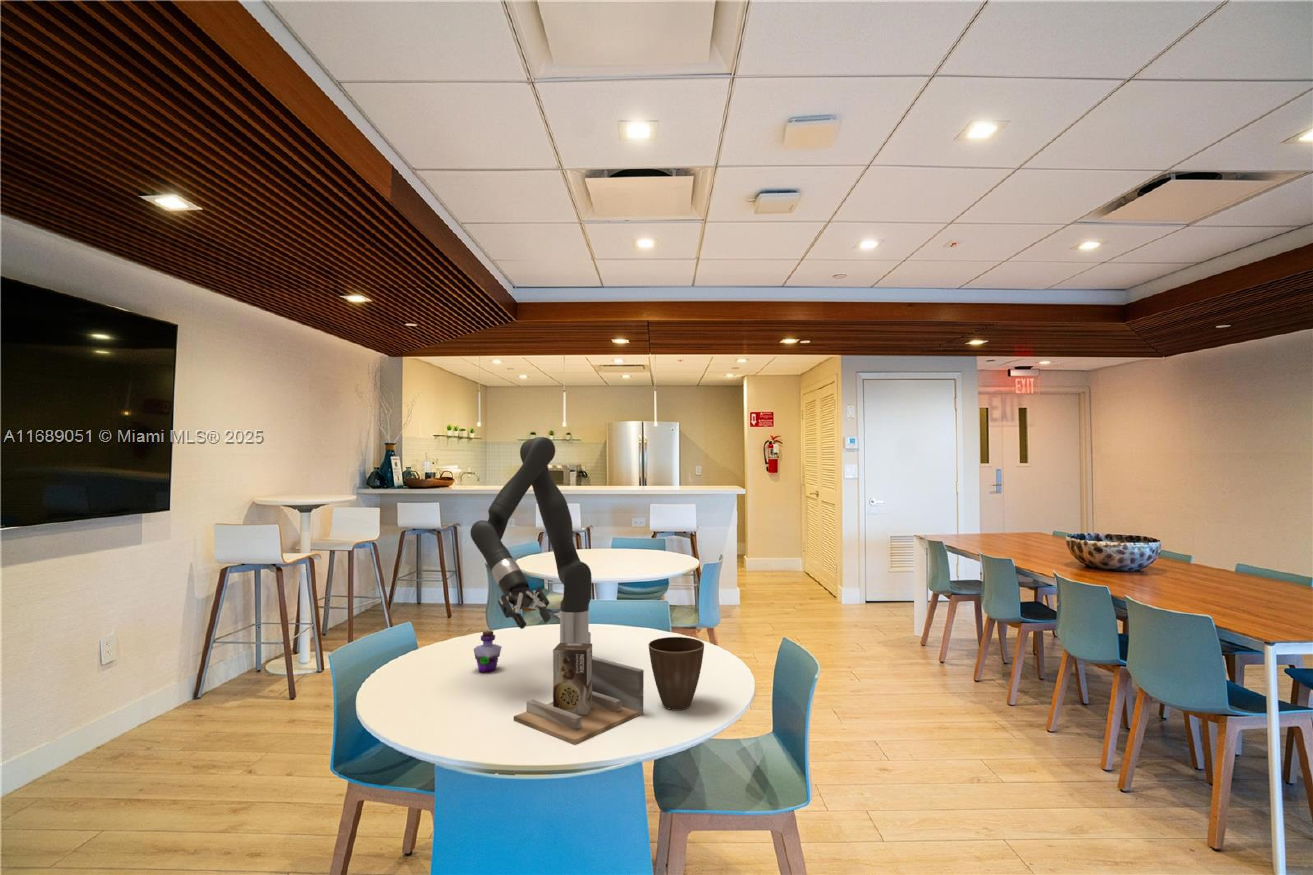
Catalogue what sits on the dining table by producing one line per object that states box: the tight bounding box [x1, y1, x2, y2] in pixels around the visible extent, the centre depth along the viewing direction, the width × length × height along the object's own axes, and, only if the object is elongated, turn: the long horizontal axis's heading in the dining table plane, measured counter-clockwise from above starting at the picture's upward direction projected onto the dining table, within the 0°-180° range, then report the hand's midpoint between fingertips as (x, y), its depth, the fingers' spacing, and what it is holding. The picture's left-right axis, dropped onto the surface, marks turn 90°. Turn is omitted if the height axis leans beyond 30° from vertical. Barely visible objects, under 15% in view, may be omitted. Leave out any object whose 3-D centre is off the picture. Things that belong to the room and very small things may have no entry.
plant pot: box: [648, 636, 705, 710], centre depth 164 cm, size 15×15×16 cm
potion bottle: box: [473, 630, 502, 674], centre depth 193 cm, size 9×9×12 cm
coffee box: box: [552, 642, 593, 715], centre depth 157 cm, size 9×6×16 cm
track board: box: [513, 655, 644, 745], centre depth 155 cm, size 24×22×11 cm
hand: (536, 623), depth 169 cm, fingers open, 8 cm apart
